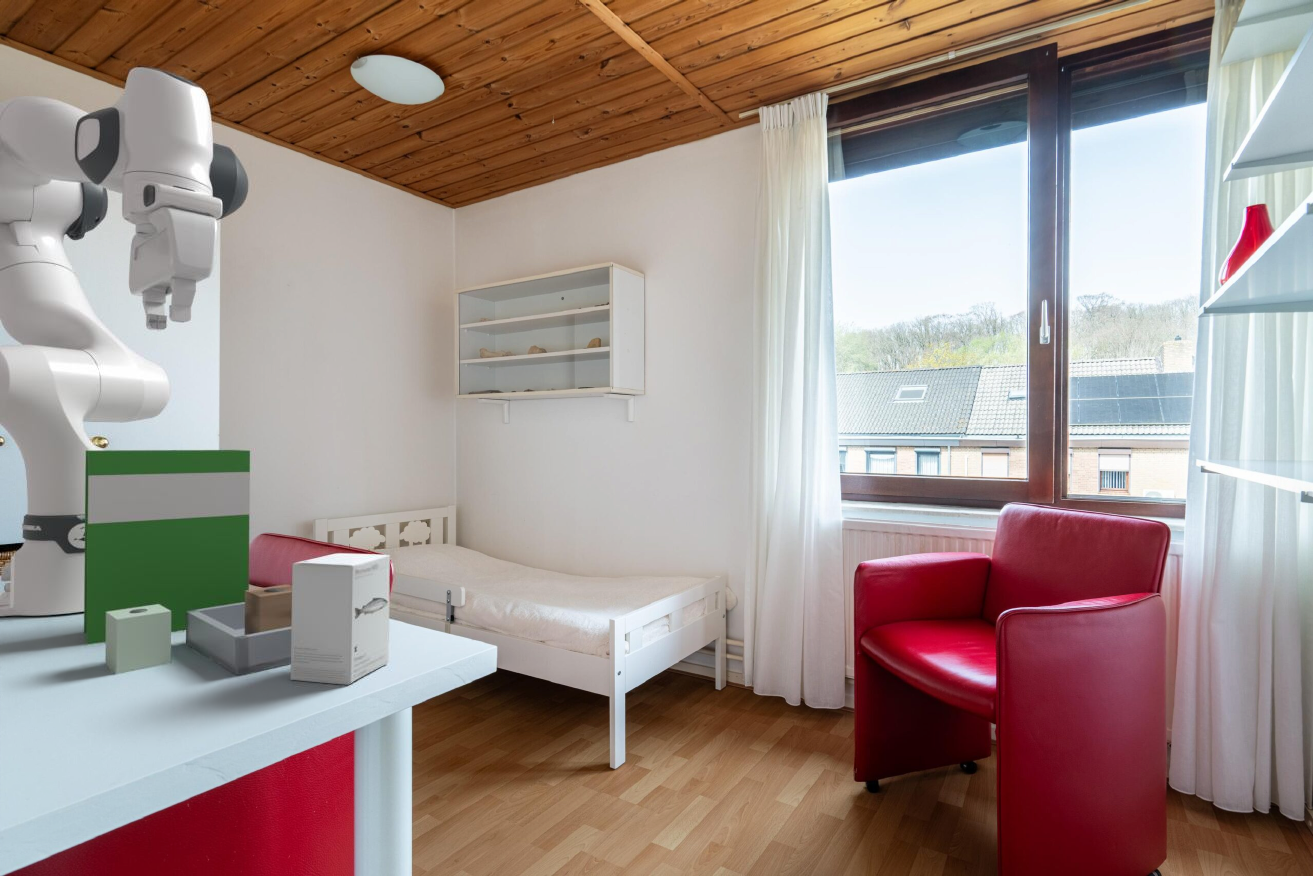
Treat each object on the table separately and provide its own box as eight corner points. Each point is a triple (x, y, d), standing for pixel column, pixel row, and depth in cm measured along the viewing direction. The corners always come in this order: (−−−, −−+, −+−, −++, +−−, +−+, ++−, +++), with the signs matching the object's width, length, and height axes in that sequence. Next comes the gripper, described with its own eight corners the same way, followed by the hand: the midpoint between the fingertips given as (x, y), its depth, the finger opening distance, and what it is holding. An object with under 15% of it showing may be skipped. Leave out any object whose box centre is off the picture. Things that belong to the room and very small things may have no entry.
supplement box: (350, 686, 72) (351, 565, 72) (288, 681, 74) (289, 562, 74) (391, 664, 79) (392, 553, 79) (333, 659, 81) (334, 551, 81)
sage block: (105, 664, 79) (105, 610, 79) (158, 654, 82) (158, 603, 83) (116, 674, 75) (116, 618, 75) (170, 663, 79) (171, 610, 79)
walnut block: (244, 639, 86) (244, 589, 86) (287, 630, 90) (287, 583, 90) (259, 647, 83) (260, 596, 83) (303, 638, 87) (303, 589, 87)
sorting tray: (185, 643, 87) (186, 611, 87) (301, 621, 97) (302, 593, 97) (238, 675, 75) (238, 638, 75) (363, 647, 86) (364, 614, 86)
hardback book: (86, 644, 86) (88, 451, 86) (83, 632, 92) (85, 450, 92) (248, 620, 98) (249, 450, 98) (237, 610, 103) (238, 449, 103)
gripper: (114, 220, 87) (113, 330, 87) (161, 182, 74) (160, 312, 74) (173, 232, 92) (172, 336, 92) (228, 198, 79) (227, 320, 79)
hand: (167, 325), depth 83 cm, fingers open, 8 cm apart
